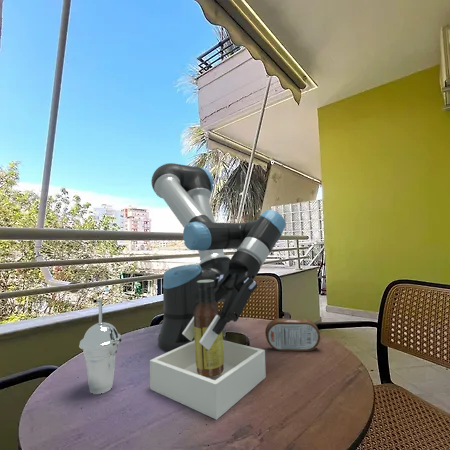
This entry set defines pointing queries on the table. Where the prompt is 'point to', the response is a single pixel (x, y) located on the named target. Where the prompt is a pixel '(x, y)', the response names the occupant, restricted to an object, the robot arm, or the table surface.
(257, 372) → the box
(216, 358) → the sauce bottle
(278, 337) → the tin
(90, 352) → the cup with straw
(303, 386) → the table surface
